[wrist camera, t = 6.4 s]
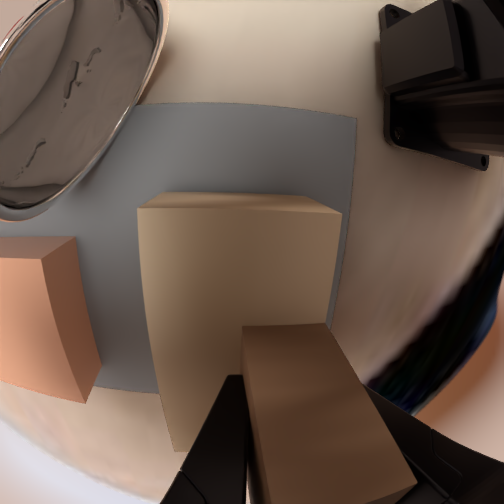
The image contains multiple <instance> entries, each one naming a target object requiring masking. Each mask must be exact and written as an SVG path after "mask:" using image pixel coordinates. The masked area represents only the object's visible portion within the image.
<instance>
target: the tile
mask: <svg viewBox="0 0 504 504" xmlns="http://www.w3.org/2000/svg"><path fill="white" fill-rule="evenodd" d="M101 367H102V364H101V361H100V357H99V354H98V350H97V347H96V343H95V339H94V336H93V332H92V328H91V324H90V319H89V315H88V310H87V306H86V301H85V296H84V291H83V286H82V280H81V274H80V268H79V261H78V254H77V246H76V237H75V236H42V237H0V380H1V381H4V382H7V383H10V384H13V385H16V386H19V387H22V388H25V389H28V390H32V391H35V392H38V393H42V394H46V395H50V396H53V397H57V398H62V399H66V400H70V401H75V402H80V403H85V404H86V401H87V399H88V396H89V394H90V392H91V389H92V387H93V385H94V382H95V380H96V378H97V376H98V373H99V371H100V369H101Z"/></svg>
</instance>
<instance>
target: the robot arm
mask: <svg viewBox="0 0 504 504" xmlns="http://www.w3.org/2000/svg"><path fill="white" fill-rule="evenodd" d="M390 13H391V14H392V15H393V16H394V17H393V16H392V15H391V14H390ZM380 19H381V29H382V32H381V33H380V43H381V60H382V87H383V89H384V91H385V108H384V137H385V139H386V141H387V142H388V143H389V144H390V145H392V146H394V147H398V148H403V149H407V150H411V151H415V152H419V153H423V154H426V155H430V156H434V157H437V158H441V159H444V160H447V161H451V162H454V163H457V164H460V165H463V166H466V167H469V168H472V169H475V170H479V171H486V170H487V168H488V165H489V155H491V156H499V157H504V0H437V1H435V2H433V3H431V4H430V5H428V6H426V7H424V8H422V9H420V10H418V11H417V12H415V13H413V14H412V13H410V12H408V11H406V10H404V9H401V8H399V7H397V6H394V5H391V4H388V5H385V6H384V7H383V8H382V9H381V10H380ZM395 129H397V130H398V131H399V135H400V136H399V139H397V138H396V136H395ZM362 385H363V387H364V388H365V390H366V392H367V394H368V395H369V397H370V399H371V400H372V402H373V404H374V406H375V407H376V409H377V411H378V412H379V414H380V416H381V418H382V419H383V421H384V423H385V425H386V426H387V428H388V430H389V432H390V433H391V435H392V437H393V439H394V441H395V442H396V444H397V446H398V448H399V449H400V451H401V453H402V455H403V457H404V458H405V460H406V462H407V464H408V466H409V467H410V469H411V471H412V473H413V475H414V477H415V478H416V480H417V482H418V483H417V484H416V485H415V486H414V487H413V488H412V489H411V490H410V491H409V492H407V493H406V494H405V495H404V496H403V497H402V498H401V499H400V500H398V501H397V502H396V503H395V504H504V462H500V461H498V460H496V459H493V458H490V457H488V456H486V455H483V454H481V453H479V452H476V451H474V450H472V449H469V448H467V447H465V446H463V445H461V444H459V443H457V442H455V441H453V440H451V439H449V438H448V437H446V436H444V435H442V434H441V433H439V432H437V431H436V430H434V429H431V428H430V427H429V426H427V425H426V424H424V423H423V422H421V421H419V420H418V419H416V418H415V417H413V416H411V415H410V414H408V413H407V412H405V411H404V410H402V409H400V408H399V407H397V406H396V405H394V404H393V403H391V402H390V401H388V400H387V399H385V398H383V397H382V396H380V395H379V394H377V393H376V392H374V391H373V390H371V389H370V388H368V387H367V386H365V385H364V384H362ZM248 437H249V407H248V402H247V396H246V391H245V385H244V379H243V375H242V374H229V375H227V377H226V379H225V381H224V383H223V385H222V387H221V389H220V391H219V393H218V395H217V397H216V399H215V401H214V403H213V405H212V407H211V409H210V411H209V413H208V415H207V417H206V419H205V421H204V423H203V425H202V427H201V429H200V431H199V433H198V435H197V437H196V439H195V441H194V443H193V445H192V447H191V449H190V451H189V453H188V455H187V456H186V458H185V460H184V462H183V464H182V466H181V468H180V470H181V471H178V473H177V475H176V477H175V479H174V481H173V483H172V484H171V486H170V488H169V489H168V491H167V493H166V494H165V496H164V498H163V499H162V501H161V502H160V504H246V486H247V462H248Z"/></svg>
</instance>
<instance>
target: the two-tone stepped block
mask: <svg viewBox="0 0 504 504" xmlns="http://www.w3.org/2000/svg"><path fill="white" fill-rule="evenodd" d="M137 218H138V239H139V254H140V266H141V277H142V287H143V296H144V304H145V312H146V320H147V327H148V333H149V340H150V346H151V352H152V357H153V363H154V368H155V373H156V378H157V383H158V388H159V392H160V397H161V401H162V406H163V410H164V414H165V418H166V422H167V426H168V430H169V433H170V437H171V441H172V444H173V448H174V451H177V452H189V451H190V449H191V447H192V445H193V443H194V441H195V439H196V437H197V435H198V433H199V431H200V429H201V427H202V425H203V423H204V421H205V419H206V417H207V415H208V413H209V411H210V409H211V407H212V405H213V403H214V401H215V399H216V397H217V395H218V393H219V391H220V389H221V387H222V385H223V383H224V381H225V379H226V377H227V375H229V374H242V375H243V379H244V385H245V391H246V396H247V402H248V407H249V437H248V462H247V482H248V490H249V497H250V504H395V503H396V502H397V501H398V500H400V499H401V498H402V497H403V496H404V495H405V494H406V493H407V492H409V491H410V490H411V489H412V488H413V487H414V486H415V485H416V484H417V483H418V482H417V480H416V478H415V477H414V475H413V473H412V471H411V469H410V467H409V466H408V464H407V462H406V460H405V458H404V457H403V455H402V453H401V451H400V449H399V448H398V446H397V444H396V442H395V441H394V439H393V437H392V435H391V433H390V432H389V430H388V428H387V426H386V425H385V423H384V421H383V419H382V418H381V416H380V414H379V412H378V411H377V409H376V407H375V406H374V404H373V402H372V400H371V399H370V397H369V395H368V394H367V392H366V390H365V388H364V387H363V385H362V383H361V382H360V380H359V378H358V377H357V375H356V373H355V372H354V370H353V368H352V366H351V365H350V363H349V361H348V360H347V358H346V356H345V355H344V353H343V351H342V350H341V348H340V346H339V345H338V343H337V342H336V340H335V338H334V337H333V335H332V333H331V332H330V330H329V328H328V327H327V325H326V324H325V321H326V316H327V311H328V305H329V300H330V294H331V289H332V283H333V277H334V271H335V264H336V258H337V251H338V244H339V236H340V229H341V221H342V213H339V212H337V211H335V210H333V209H331V208H329V207H327V206H325V205H323V204H321V203H319V202H317V201H315V200H313V199H311V198H308V197H306V196H295V195H278V194H256V193H225V192H162V193H160V194H159V195H157V196H156V197H154V198H152V199H151V200H149V201H148V202H146V203H145V204H143V205H141V206H140V207H138V208H137Z"/></svg>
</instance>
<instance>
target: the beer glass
mask: <svg viewBox="0 0 504 504" xmlns="http://www.w3.org/2000/svg"><path fill="white" fill-rule="evenodd" d="M168 21H169V3H168V0H0V221H4V222H21V221H25V220H29V219H31V218H34V217H36V216H38V215H40V214H42V213H43V212H45V211H47V210H48V209H49V208H51V207H52V206H54V205H55V204H56V203H57V202H59V201H60V200H61V199H62V198H63V197H65V196H66V195H67V194H68V193H69V192H70V191H71V190H72V189H73V188H74V187H75V186H76V185H77V184H78V183H79V182H80V181H81V180H82V179H83V177H84V176H85V175H86V174H87V173H88V172H89V171H90V169H91V168H92V167H93V166H94V165H95V163H96V162H97V161H98V160H99V158H100V157H101V156H102V154H103V153H104V152H105V151H106V149H107V148H108V146H109V145H110V144H111V142H112V141H113V139H114V138H115V137H116V135H117V134H118V132H119V131H120V129H121V128H122V126H123V125H124V123H125V121H126V120H127V118H128V117H129V115H130V113H131V112H132V110H133V108H134V107H135V105H136V103H137V102H138V100H139V98H140V96H141V94H142V93H143V91H144V89H145V87H146V85H147V83H148V81H149V79H150V77H151V75H152V72H153V70H154V68H155V66H156V63H157V61H158V58H159V56H160V53H161V50H162V47H163V44H164V40H165V37H166V33H167V28H168Z"/></svg>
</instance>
